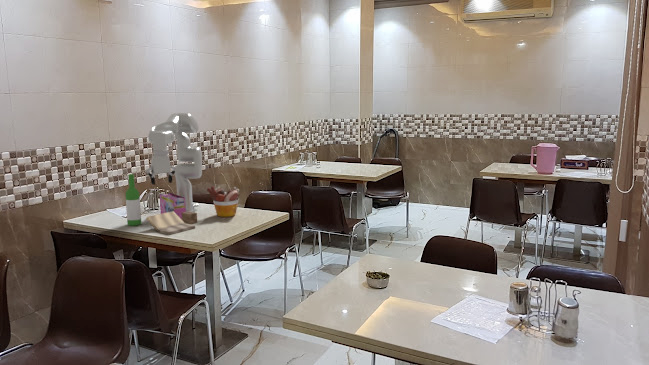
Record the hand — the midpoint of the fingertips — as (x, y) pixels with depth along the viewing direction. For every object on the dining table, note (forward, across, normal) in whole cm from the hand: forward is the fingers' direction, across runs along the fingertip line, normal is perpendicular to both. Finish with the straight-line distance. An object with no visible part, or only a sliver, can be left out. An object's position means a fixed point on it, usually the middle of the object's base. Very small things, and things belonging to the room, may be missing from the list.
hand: (161, 183), depth 287 cm
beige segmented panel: (+23, -1, -1) cm, 23 cm away
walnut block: (+26, -17, -4) cm, 31 cm away
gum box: (+26, -15, -24) cm, 38 cm away
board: (+26, -4, +10) cm, 28 cm away
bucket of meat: (+26, -42, -6) cm, 50 cm away
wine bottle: (+26, +11, -19) cm, 34 cm away
